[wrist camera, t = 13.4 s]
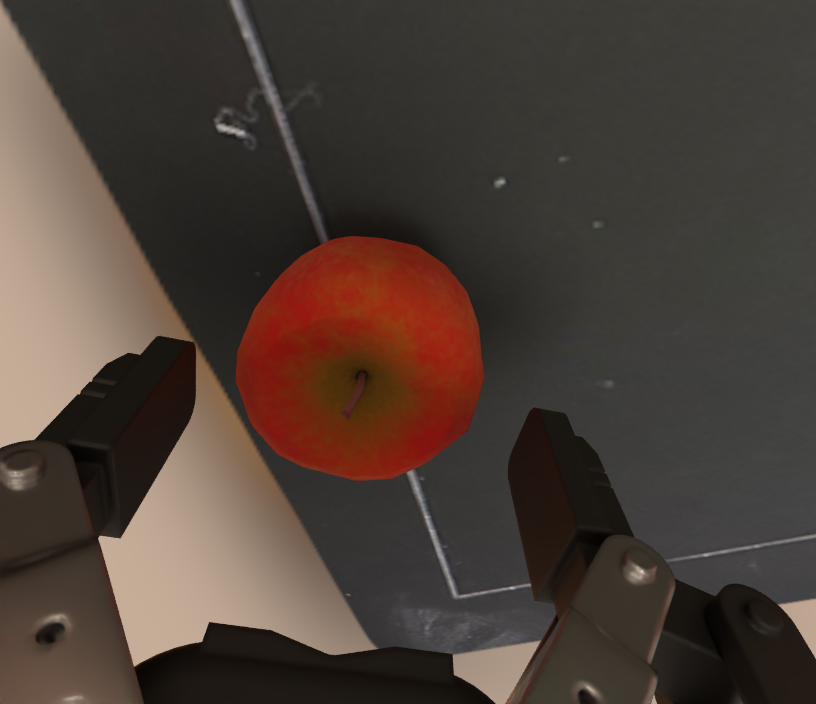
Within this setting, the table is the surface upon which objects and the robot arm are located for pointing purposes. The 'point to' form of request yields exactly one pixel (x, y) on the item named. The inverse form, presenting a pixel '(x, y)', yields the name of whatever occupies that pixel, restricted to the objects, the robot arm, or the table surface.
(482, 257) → the table surface
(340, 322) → the apple
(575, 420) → the table surface
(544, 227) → the table surface
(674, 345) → the table surface
